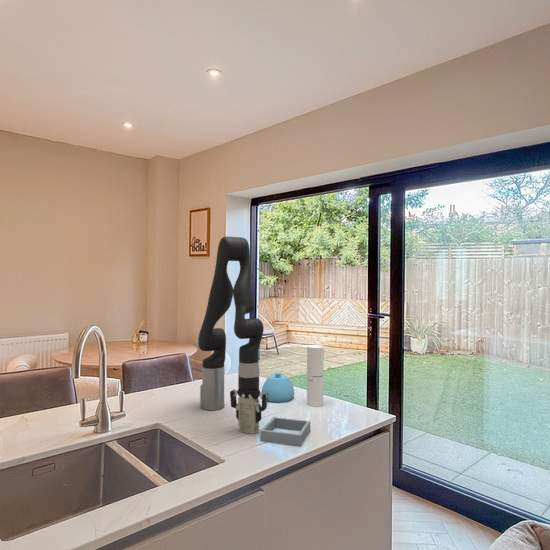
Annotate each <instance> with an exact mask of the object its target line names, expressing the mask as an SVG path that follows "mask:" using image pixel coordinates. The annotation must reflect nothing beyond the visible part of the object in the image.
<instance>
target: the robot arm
mask: <svg viewBox="0 0 550 550" xmlns="http://www.w3.org/2000/svg"><path fill="white" fill-rule="evenodd" d="M217 247H218V248H217V254H216V261H215V267H214V274H213V278H212V283H211V287H210V292H209V296H208V301H207V306H206V310H205V315H204V318H203V320H202V324H201V327H200V330H199V333H198V339H197V343H198V348H199V349H200V351H202V352H212V351H213V352H212V354H210V355H209V356H207V357H205V358H204V359H203V360H202V368H201V369H202V375H201V376H202V378H201V379H202V384H200V387H199V388H200V390H199V392H200V394H199V395H200V399H199V401H200V402H199V403H200V404H199V405H200V409H203V410H205V411H219V410H222V409H224V408H225V363H226V362H225V361H226V349H227V348H226V347H227V335H226V332H225V330H224V329H223V328H220V327H218V328H215V326H216V325H217V323H218V321H219V320H220V319H221V318H222V317H223V316H224V315H225V314H226V313H227V312H228V310H229V309H230V308H231V305H232V302H233V301H234V308H235V311H234V312H235V314H234V323H233V332H234V335H235V337H237V338H238V339H239V340H243V339H244V340H245V339H247V340H248V339H249V341H248V342H247V343H245V344H243V345H241V346H240V347H239V350H238V369H237V375H238V380H237V381H238V383H237V385H238V386H237V387H238V389H234V388H233V389H232V390H231V391H229V396H230V397H229V398H230V406H231V409H232V408H233V409H235V414H236V415H235V418H236V420H237V421H239V409H238V400H237V396H238V398H239V397H241V398H243V399H244V398H249V399H255V400H256V399H257V398H258V402H257V403H256V402H255V400H254V407H255V409H256V411H257V412H256V422H257V423H258V422H259V423H260V421H262V412H264V411H266V410H267V407H268V401H267V399H268V393H261V390H260V363H259V361H260V360H259V355H260V354H259V351H260V346H261V343H262V338H263V335H264V323H263V321H262V320H261V319H260V318H256V317H255V318H245V317H246V315H247V314H251V313H253V312H254V311H255V308H256V307H255V302H254V296H253V290H252V279H251V276H252V275H251V251H250V245H249V242H248V240H247V239H246V238H245V237H242V236H240V237H239V236H223V237H222V238H220V241H219V243H218V246H217ZM229 262H239V272H238V277H237V279H236V281H235V283H234V286H233V284H232V282H231V279H230V277H229V275H228V263H229ZM259 397H260V399H261V402H260V400H259Z"/></svg>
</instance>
